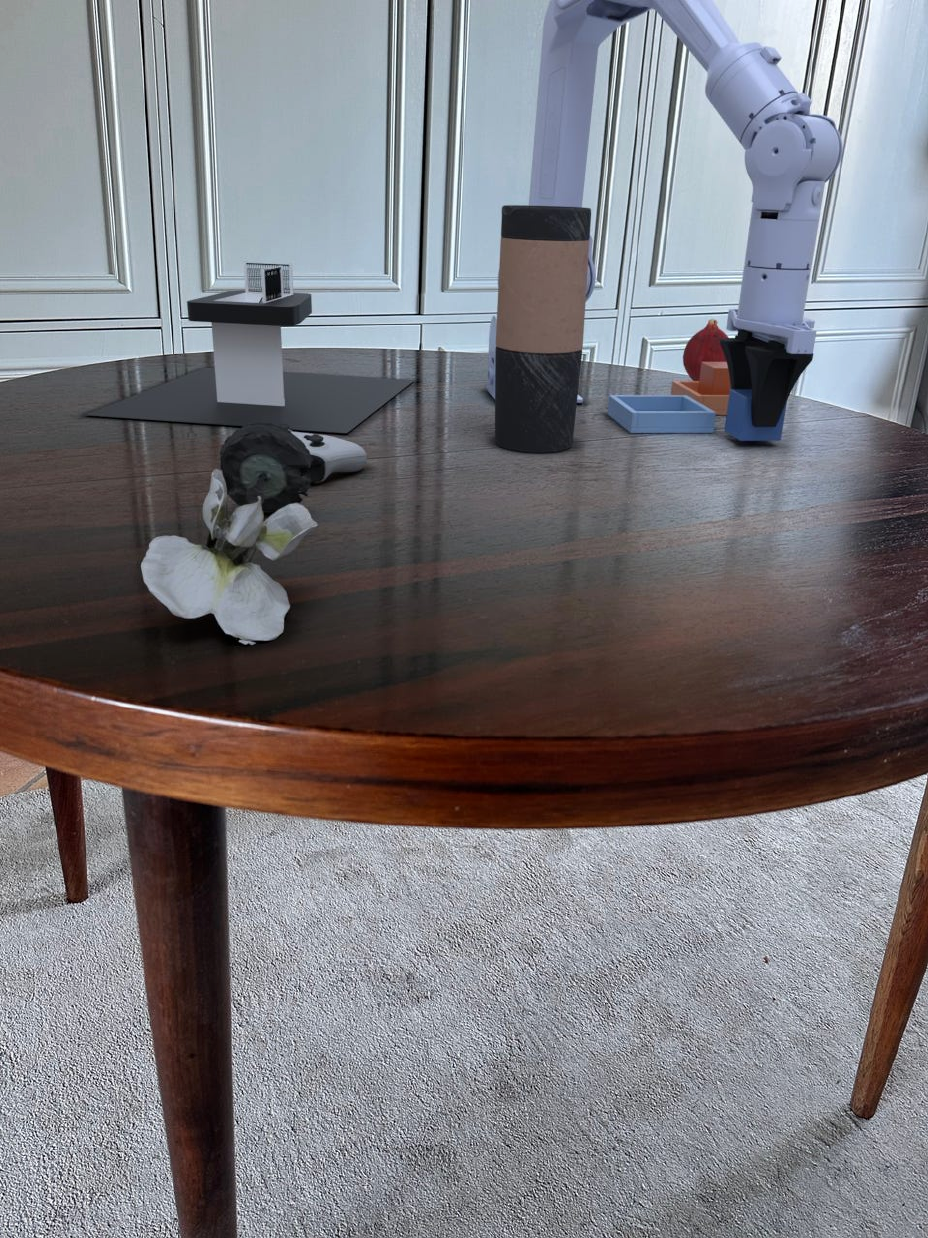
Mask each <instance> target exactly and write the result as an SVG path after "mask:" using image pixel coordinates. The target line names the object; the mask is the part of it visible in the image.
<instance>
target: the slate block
mask: <svg viewBox="0 0 928 1238" xmlns="http://www.w3.org/2000/svg"><path fill="white" fill-rule="evenodd" d="M751 403H752V389H730V392H729V400H728V407H727V414H726V415H725V416H726V417H725V421H724V422H725V423H724V432H725V433H727V434H729V435H730V436H732V437H734V438H735V439H737V440H738V441H740V442H780V441H781V440H782V436H783V435H782V434H783V429H784V423H785V418H786V417H785V416H786V410H787V405H788V404H787V403H788V401H787V402H786V404H785V407H784V409H783V412H782V414H781V416H780V419H779V421H778V423H777V425H776V427H754V426H753V425H752V416H751Z"/></svg>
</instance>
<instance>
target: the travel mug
mask: <svg viewBox="0 0 928 1238" xmlns="http://www.w3.org/2000/svg"><path fill="white" fill-rule="evenodd" d="M591 222H592V208H590V207H584V206H582V207H562V206H529V204H528V205H527V204H526V205H525V204H524V205H523V204H522V205H520V204H506V205H505V204H504V205H502V207H501V224H500V225H501V226H500V241H499V242H500V244H499V245H500V246H499V264H498V265H499V267H498V272H499V284H498V283H497V307H496V315H497V325H496V350H495V399H494V442H495V444H496V445H497V446H499V447H500V448H502V449H506V450H510V451H514V452H520V453H531V454H545V453H546V454H547V453H549V454H550V453H557V452H563V451H566V450H570V448H572V446H573V443H574V436H575V435H574V434H575V426H576V425H575V424H576V416H577V406H578V403H577V398H578V395H579V387H580V377H581V367H582V360H583V359H582V358H583V346H584V332H585V320H586V319H585V318H586V316H585V315H586V303H587V301H586V287H587V272H588V256H589V239H590V235H591V224H592V223H591Z"/></svg>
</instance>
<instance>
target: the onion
mask: <svg viewBox="0 0 928 1238" xmlns="http://www.w3.org/2000/svg"><path fill="white" fill-rule="evenodd" d="M718 323H719V322H718V321H717V320H716V319H715V318H711V319H709V320H708V321H707V324H706V326H705V327H703V328H702V329H700V330H699V331H697V332H696V333H695V334H693V335H692V337H690V339H689V340H688V341H687V343H686V345H685V347H684V349H683V355H682V365H683V367H684V370H685V372H686V373H687V375H688V377H689V378H690V379H691V381H699V379H700V371H701V363H702V362H726V358H725V355H724V353H723V350H722V348H721V345H720V340H721V339H722V338H730V337H729V336H728V335H727V334H726V333H725V332H724V331H723V330H722V329H721V328H720V327H719V326H718Z"/></svg>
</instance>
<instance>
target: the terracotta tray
mask: <svg viewBox="0 0 928 1238" xmlns="http://www.w3.org/2000/svg"><path fill="white" fill-rule="evenodd" d="M698 387H699V381H693V380H672V381H671V388H670V395H681V396H682V395H687V396H689V397H690V398H692V399H694V400H695V401H697V402H699V403H701V404H702V405H704V406H706V407H707V408H709V409H711V410H713V411H714V412H716V416H726V414H727V407H728V400H729V395H701V394H699V393H698Z"/></svg>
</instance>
